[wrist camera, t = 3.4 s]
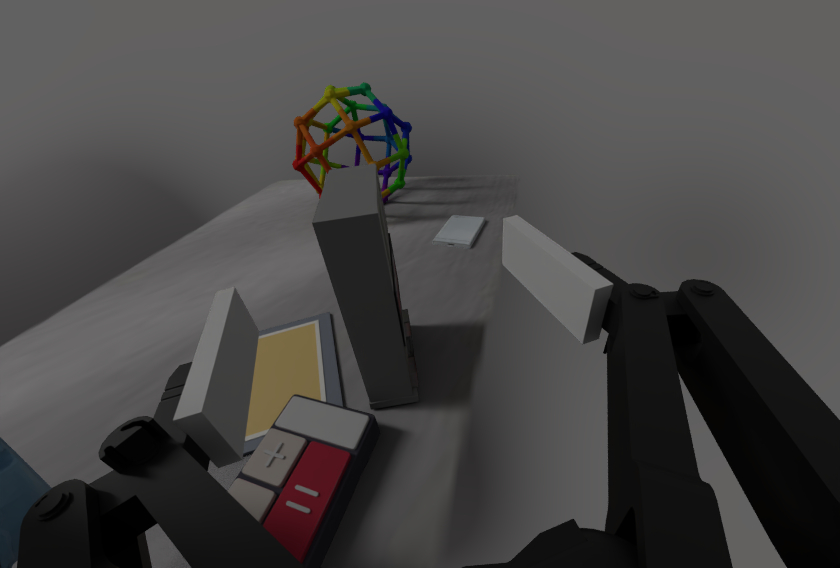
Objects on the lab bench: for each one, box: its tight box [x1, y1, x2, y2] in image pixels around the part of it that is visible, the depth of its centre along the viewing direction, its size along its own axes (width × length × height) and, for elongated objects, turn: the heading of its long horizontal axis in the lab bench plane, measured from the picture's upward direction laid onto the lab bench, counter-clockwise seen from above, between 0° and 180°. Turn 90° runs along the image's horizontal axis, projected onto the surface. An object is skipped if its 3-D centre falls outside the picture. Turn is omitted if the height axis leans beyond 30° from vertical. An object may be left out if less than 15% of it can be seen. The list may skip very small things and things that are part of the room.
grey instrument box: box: [312, 163, 419, 409], centre depth 39 cm, size 14×6×25 cm, turn 7°
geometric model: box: [292, 83, 412, 204], centre depth 84 cm, size 30×30×30 cm
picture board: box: [243, 312, 343, 456], centre depth 47 cm, size 14×21×1 cm, turn 17°
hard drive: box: [433, 215, 485, 249], centre depth 74 cm, size 2×8×12 cm
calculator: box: [228, 394, 380, 568], centre depth 34 cm, size 11×4×15 cm
